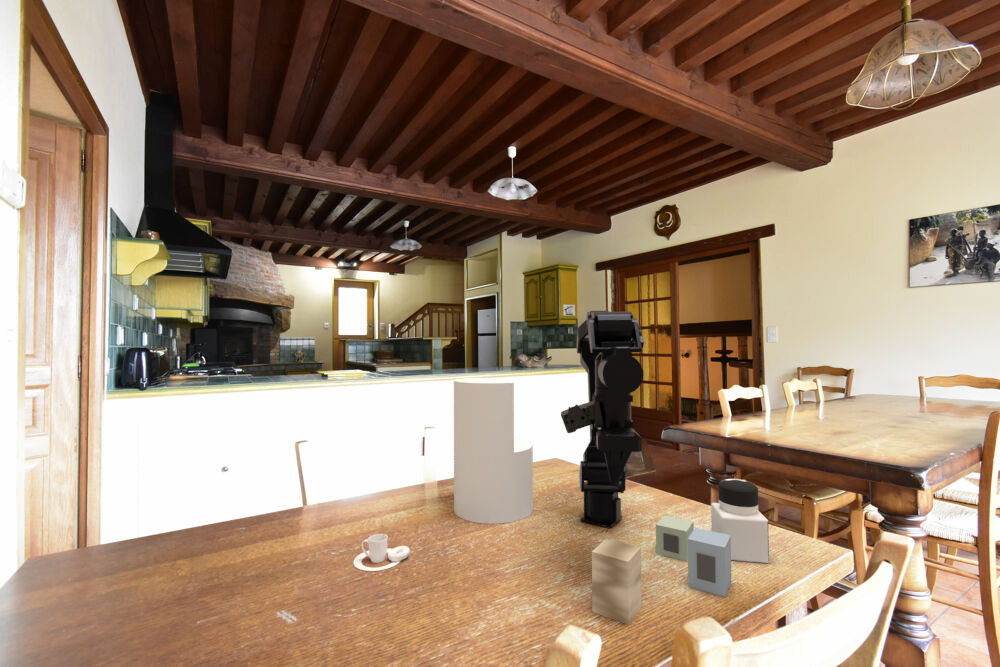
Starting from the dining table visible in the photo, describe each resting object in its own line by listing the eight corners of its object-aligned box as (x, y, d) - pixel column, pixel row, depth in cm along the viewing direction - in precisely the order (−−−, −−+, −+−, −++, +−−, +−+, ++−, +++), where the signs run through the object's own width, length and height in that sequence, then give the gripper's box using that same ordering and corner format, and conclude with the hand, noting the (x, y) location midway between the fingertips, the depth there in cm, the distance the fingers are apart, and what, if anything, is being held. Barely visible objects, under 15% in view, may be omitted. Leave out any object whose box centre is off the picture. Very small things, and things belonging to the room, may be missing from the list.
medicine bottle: (769, 564, 74) (768, 489, 74) (722, 560, 75) (721, 487, 75) (754, 545, 81) (753, 477, 81) (711, 541, 82) (710, 474, 82)
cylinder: (476, 530, 87) (475, 384, 88) (441, 503, 102) (441, 379, 103) (549, 513, 96) (548, 380, 97) (507, 490, 111) (506, 376, 112)
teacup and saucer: (415, 555, 78) (415, 531, 78) (389, 578, 70) (389, 551, 70) (372, 548, 81) (372, 525, 81) (342, 569, 73) (342, 543, 73)
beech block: (592, 611, 61) (591, 551, 61) (606, 595, 65) (606, 538, 65) (629, 625, 58) (628, 561, 58) (641, 606, 62) (640, 547, 62)
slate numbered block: (687, 587, 67) (687, 539, 67) (695, 572, 71) (695, 527, 71) (725, 598, 64) (724, 548, 64) (731, 582, 68) (730, 535, 68)
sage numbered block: (655, 554, 77) (655, 524, 77) (664, 543, 82) (664, 515, 82) (686, 562, 74) (686, 531, 75) (694, 550, 79) (693, 521, 79)
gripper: (563, 382, 85) (564, 466, 85) (563, 393, 67) (563, 500, 66) (624, 382, 83) (625, 468, 83) (641, 394, 65) (642, 503, 65)
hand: (613, 483), depth 74 cm, fingers closed
